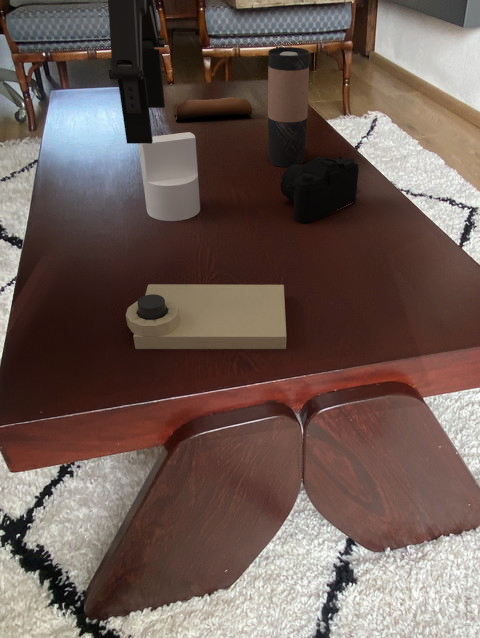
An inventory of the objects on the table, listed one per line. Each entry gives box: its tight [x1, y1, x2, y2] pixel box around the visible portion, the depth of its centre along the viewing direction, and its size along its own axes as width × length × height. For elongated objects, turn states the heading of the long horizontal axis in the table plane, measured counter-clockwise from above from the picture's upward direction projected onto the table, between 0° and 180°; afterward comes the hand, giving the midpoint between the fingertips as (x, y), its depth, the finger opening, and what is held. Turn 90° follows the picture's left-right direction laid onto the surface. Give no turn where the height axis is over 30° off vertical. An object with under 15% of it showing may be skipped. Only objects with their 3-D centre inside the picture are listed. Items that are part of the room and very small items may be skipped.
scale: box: [125, 283, 287, 350], centre depth 76 cm, size 19×12×4 cm, turn 91°
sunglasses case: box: [175, 96, 253, 121], centre depth 145 cm, size 18×7×7 cm, turn 105°
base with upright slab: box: [138, 131, 201, 222], centre depth 100 cm, size 9×9×12 cm
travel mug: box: [267, 46, 310, 168], centre depth 117 cm, size 8×8×20 cm
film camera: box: [279, 155, 360, 224], centre depth 103 cm, size 15×10×9 cm, turn 134°
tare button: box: [136, 294, 166, 320], centre depth 72 cm, size 3×3×2 cm
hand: (147, 123), depth 72 cm, fingers open, 13 cm apart
